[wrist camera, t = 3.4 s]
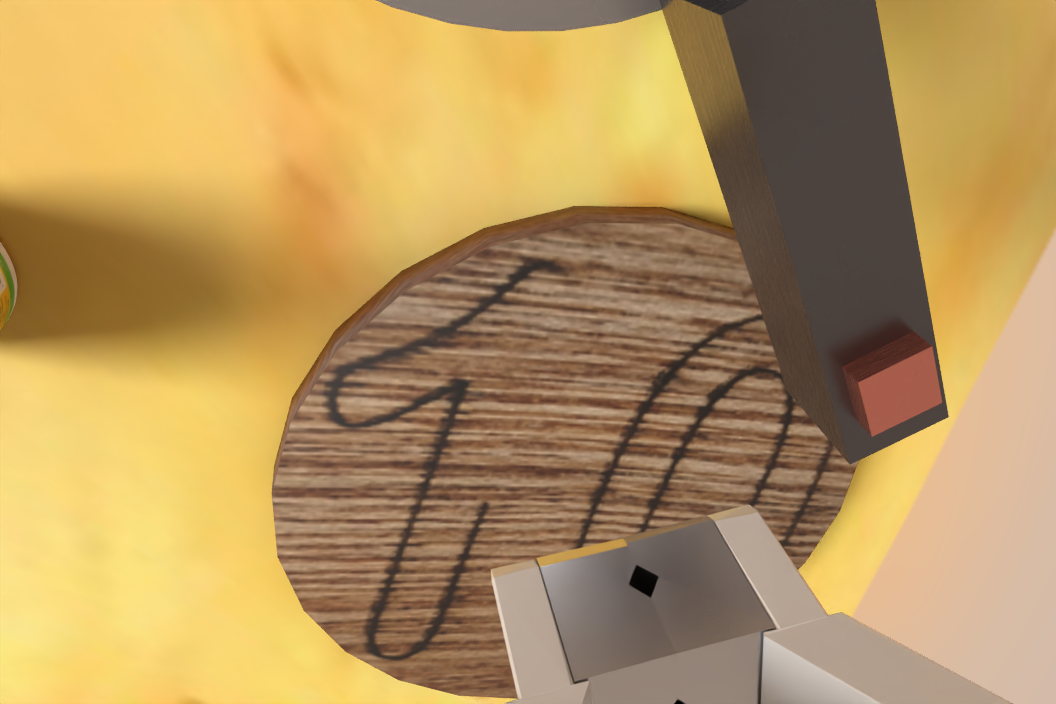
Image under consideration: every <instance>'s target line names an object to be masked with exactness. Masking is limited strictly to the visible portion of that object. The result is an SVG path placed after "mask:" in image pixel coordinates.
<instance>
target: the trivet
mask: <svg viewBox="0 0 1056 704" xmlns="http://www.w3.org/2000/svg"><path fill="white" fill-rule="evenodd" d="M857 464H858V461H857V462H855V463H852V464H849V463H848V462H847V461H846V459H845V458H844V457H843V456H842V455H841V454H840V452H839V451H838V450H837V449H836V448H835V447H834V445H833V444H832V443H831V442H830V441H829V440H828V438H827V437H826V436H825V435H824V434H823V432H822V431H821V430H820V429H819V428H818V427H817V425H816V424H815V423H814V422H813V421H812V420H811V418H810V417H809V416H808V415H807V414H806V413H805V411H804V410H803V409H802V408H801V407H800V405H799V404H798V403H797V402H796V401H795V400H794V398H793V397H792V396H791V395H790V394H789V393H788V391H787V389H786V386H785V383H784V380H783V377H782V374H781V371H780V368H779V365H778V362H777V359H776V356H775V353H774V350H773V346H772V343H771V340H770V337H769V334H768V331H767V328H766V325H765V322H764V319H763V316H762V313H761V310H760V307H759V304H758V301H757V298H756V295H755V291H754V288H753V285H752V282H751V279H750V276H749V273H748V270H747V267H746V264H745V261H744V258H743V255H742V252H741V249H740V246H739V243H738V239H737V236H736V233H735V230H734V229H733V228H729V227H726V226H722V225H719V224H716V223H712V222H709V221H706V220H702V219H699V218H696V217H692V216H689V215H686V214H682V213H679V212H676V211H672V210H669V209H665V208H662V207H593V206H573V207H569V208H565V209H561V210H557V211H553V212H549V213H545V214H540V215H536V216H532V217H528V218H524V219H520V220H516V221H512V222H508V223H503V224H499V225H495V226H491V227H487V228H483V229H482V230H480V231H478V232H476V233H474V234H472V235H470V236H468V237H466V238H464V239H462V240H460V241H459V242H457V243H455V244H453V245H451V246H449V247H447V248H445V249H443V250H441V251H439V252H437V253H436V254H434V255H432V256H430V257H428V258H426V259H424V260H422V261H420V262H418V263H416V264H414V265H413V266H411V267H409V268H407V269H405V270H403V271H401V272H400V273H399V274H398V275H397V276H395V277H394V278H393V279H392V280H391V281H390V282H389V283H388V284H387V285H385V286H384V287H383V288H382V289H381V290H380V291H379V292H378V293H376V294H375V295H374V296H373V297H372V298H371V299H370V300H369V301H368V302H366V303H365V304H364V305H363V306H362V307H361V308H360V309H359V310H357V311H356V312H355V313H354V314H353V315H352V316H351V317H350V318H349V319H347V320H346V321H345V322H344V323H343V324H342V325H341V326H340V327H339V328H337V329H336V330H335V332H334V333H333V335H332V336H331V338H330V339H329V341H328V343H327V344H326V346H325V347H324V349H323V350H322V352H321V354H320V355H319V357H318V358H317V360H316V361H315V363H314V365H313V366H312V368H311V369H310V371H309V372H308V374H307V375H306V377H305V379H304V380H303V382H302V383H301V385H300V386H299V388H298V390H297V391H296V393H295V394H294V396H293V397H292V401H291V404H290V408H289V412H288V416H287V420H286V423H285V427H284V431H283V435H282V439H281V442H280V446H279V450H278V454H277V458H276V461H275V465H274V474H273V485H272V500H273V511H274V522H275V533H276V544H277V555H278V558H279V560H280V562H281V565H282V567H283V569H284V571H285V573H286V575H287V577H288V579H289V581H290V583H291V585H292V587H293V589H294V591H295V593H296V595H297V597H298V599H299V601H300V603H301V605H302V608H303V610H304V611H305V612H306V613H307V614H308V615H309V616H310V617H311V618H312V619H313V620H314V621H315V622H316V623H317V624H318V625H319V626H320V627H321V628H322V629H323V630H324V631H325V632H326V633H327V634H328V635H329V636H330V637H331V638H332V639H333V640H334V641H335V642H336V643H337V644H338V645H339V646H340V647H341V648H342V649H344V650H345V651H346V652H347V653H349V654H351V655H353V656H355V657H356V658H358V659H360V660H362V661H364V662H366V663H368V664H370V665H371V666H373V667H375V668H377V669H379V670H381V671H383V672H385V673H386V674H388V675H390V676H392V677H394V678H396V679H398V680H400V681H404V682H408V683H412V684H416V685H420V686H424V687H427V688H431V689H435V690H439V691H443V692H447V693H451V694H455V695H458V696H478V697H497V698H517V699H518V696H517V692H516V687H515V683H514V678H513V674H512V669H511V665H510V661H509V656H508V652H507V647H506V643H505V638H504V634H503V629H502V625H501V620H500V616H499V611H498V607H497V602H496V598H495V594H494V589H493V585H492V578H491V569H493V568H498V567H502V566H507V565H511V564H516V563H520V562H524V561H529V560H533V559H535V561H536V558H538V557H543V556H547V555H552V554H556V553H561V552H565V551H569V550H574V549H578V548H583V547H587V546H592V545H596V544H600V543H605V542H609V541H614V540H618V539H621V538H622V537H626V536H630V535H634V534H637V533H641V532H645V531H649V530H653V529H656V528H660V527H664V526H668V525H672V524H675V523H679V522H683V521H687V520H691V519H694V518H698V517H702V516H703V517H706V516H707V515H711V514H714V513H718V512H722V511H726V510H730V509H734V508H738V507H741V506H745V505H751V506H752V507H754V508H755V509H757V510H758V512H759V513H760V515H761V516H762V518H763V519H764V521H765V522H766V524H767V525H768V527H769V528H770V530H771V531H772V533H773V534H774V535H775V537H776V538H777V540H778V541H779V543H780V544H781V546H782V547H783V549H784V550H785V552H786V553H787V555H788V556H789V558H790V559H791V561H792V562H793V564H794V565H795V567H796V568H797V570H798V569H799V568H800V567H801V566H802V565H803V564H804V563H805V562H806V560H807V559H808V557H809V556H810V555H811V553H812V552H813V550H814V549H815V547H816V546H817V544H818V543H819V541H820V540H821V538H822V537H823V535H824V534H825V532H826V531H827V529H828V528H829V526H830V525H831V523H832V522H833V520H834V519H835V517H836V516H837V514H838V513H839V511H840V509H841V506H842V504H843V501H844V498H845V496H846V493H847V490H848V488H849V485H850V482H851V480H852V477H853V474H854V472H855V469H856V466H857Z"/></svg>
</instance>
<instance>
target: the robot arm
mask: <svg viewBox="0 0 1056 704" xmlns="http://www.w3.org/2000/svg"><path fill="white" fill-rule="evenodd" d="M491 578H492V585H493V589H494V594H495V598H496V602H497V607H498V611H499V616H500V620H501V625H502V629H503V634H504V638H505V643H506V647H507V652H508V656H509V661H510V665H511V669H512V674H513V678H514V683H515V687H516V692H517V696H518V699H517V700H513V701H510V702H507V703H504V704H1013V703H1011V702H1009V701H1007V700H1005V699H1003V698H1002V697H1000V696H998V695H996V694H994V693H992V692H990V691H988V690H987V689H985V688H983V687H981V686H979V685H977V684H975V683H973V682H971V681H969V680H968V679H966V678H964V677H962V676H960V675H958V674H957V673H955V672H953V671H951V670H949V669H947V668H945V667H943V666H941V665H940V664H938V663H936V662H934V661H932V660H930V659H928V658H927V657H925V656H923V655H921V654H919V653H917V652H915V651H913V650H912V649H910V648H908V647H906V646H904V645H902V644H900V643H898V642H897V641H895V640H893V639H891V638H889V637H887V636H885V635H883V634H882V633H880V632H878V631H876V630H874V629H872V628H870V627H868V626H867V625H865V624H863V623H861V622H859V621H857V620H855V619H853V618H852V617H850V616H848V615H846V614H844V613H842V612H841V613H836V614H832V615H828V614H827V613H826V611H825V610H824V608H823V607H822V605H821V604H820V602H819V601H818V599H817V598H816V596H815V595H814V593H813V592H812V591H811V589H810V588H809V586H808V585H807V583H806V582H805V580H804V579H803V577H802V576H801V574H800V573H799V571H798V570H797V568H796V567H795V565H794V564H793V562H792V561H791V559H790V558H789V556H788V555H787V553H786V552H785V550H784V549H783V547H782V546H781V544H780V543H779V541H778V540H777V538H776V537H775V535H774V534H773V533H772V531H771V530H770V528H769V527H768V525H767V524H766V522H765V521H764V519H763V518H762V516H761V515H760V513H759V512H758V510H757V509H755V508H754V507H752V506H751V505H745V506H741V507H738V508H734V509H730V510H726V511H722V512H718V513H714V514H711V515H707V516H706V517H703V516H702V517H698V518H694V519H691V520H687V521H683V522H679V523H675V524H672V525H668V526H664V527H660V528H656V529H653V530H649V531H645V532H641V533H637V534H634V535H630V536H626V537H622V538H621V539H618V540H614V541H609V542H605V543H600V544H596V545H592V546H587V547H583V548H578V549H574V550H569V551H565V552H561V553H556V554H552V555H547V556H543V557H538V558H536V561H535V559H533V560H529V561H524V562H520V563H516V564H511V565H507V566H502V567H498V568H493V569H491Z"/></svg>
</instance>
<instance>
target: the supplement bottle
mask: <svg viewBox="0 0 1056 704" xmlns="http://www.w3.org/2000/svg"><path fill="white" fill-rule="evenodd" d="M17 291H18V289H17V277H16V273H15V269H14V266H13V264H12V261H11V259H10V257H9V255H8V253H7V252H6V250H5V248H4V247H3V245H2V244H1V242H0V332H1V330H2V329H3V327H4V325H5V324H6V322H7V321H8V319H9V317H10V315H11V313H12V311H13V309H14V306H15V304H16V298H17Z"/></svg>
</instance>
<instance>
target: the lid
mask: <svg viewBox="0 0 1056 704" xmlns="http://www.w3.org/2000/svg"><path fill="white" fill-rule="evenodd" d="M377 1H379V2H381V3H384V4H386V5H388V6H391V7H394V8H397V9H401V10H404V11H408V12H411V13H415V14H419V15H422V16H426V17H429V18H433V19H436V20H440V21H443V22H447V23H451V24H458V25H466V26H473V27H480V28H488V29H495V30H502V31H565V30H572V29H578V28H585V27H592V26H598V25H605V24H612V23H618V22H621V21H625V20H628V19H632V18H635V17H638V16H642V15H645V14H648V13H652V12H655V11H659V10H663V13H664V16H665V19H666V22H667V25H668V28H669V32H670V35H671V38H672V41H673V44H674V47H675V50H676V53H677V56H678V59H679V62H680V65H681V68H682V71H683V74H684V77H685V80H686V84H687V87H688V90H689V93H690V96H691V99H692V102H693V105H694V108H695V111H696V114H697V117H698V120H699V123H700V126H701V129H702V132H703V135H704V139H705V142H706V145H707V148H708V151H709V154H710V157H711V160H712V163H713V166H714V169H715V172H716V175H717V178H718V181H719V184H720V187H721V191H722V194H723V197H724V200H725V203H726V206H727V209H728V212H729V215H730V218H731V221H732V224H733V227H734V230H735V233H736V236H737V239H738V243H739V246H740V249H741V252H742V255H743V258H744V261H745V264H746V267H747V270H748V273H749V276H750V279H751V282H752V285H753V288H754V291H755V295H756V298H757V301H758V304H759V307H760V310H761V313H762V316H763V319H764V322H765V325H766V328H767V331H768V334H769V337H770V340H771V343H772V346H773V350H774V353H775V356H776V359H777V362H778V365H779V368H780V371H781V374H782V377H783V380H784V383H785V386H786V389H787V391H788V393H789V394H790V395H791V396H792V397H793V398H794V400H795V401H796V402H797V403H798V404H799V405H800V407H801V408H802V409H803V410H804V411H805V413H806V414H807V415H808V416H809V417H810V418H811V420H812V421H813V422H814V423H815V424H816V425H817V427H818V428H819V429H820V430H821V431H822V432H823V434H824V435H825V436H826V437H827V438H828V440H829V441H830V442H831V443H832V444H833V445H834V447H835V448H836V449H837V450H838V451H839V452H840V454H841V455H842V456H843V457H844V458H845V459H846V461H847V462H848V463H849V464H852V463H855V462H857V461H859V460H861V459H863V458H865V457H867V456H869V455H871V454H873V453H875V452H877V451H879V450H881V449H883V448H886V447H888V446H890V445H892V444H894V443H896V442H898V441H900V440H902V439H904V438H906V437H908V436H910V435H912V434H914V433H917V432H919V431H921V430H923V429H925V428H927V427H929V426H931V425H933V424H935V423H937V422H939V421H941V420H943V419H946V418H948V417H949V416H948V411H947V405H946V399H945V394H944V388H943V382H942V377H941V371H940V365H939V360H938V354H937V348H936V342H935V337H934V331H933V325H932V320H931V314H930V308H929V303H928V297H927V291H926V286H925V280H924V274H923V269H922V263H921V257H920V252H919V246H918V240H917V234H916V229H915V223H914V217H913V212H912V206H911V200H910V195H909V189H908V183H907V178H906V172H905V166H904V161H903V155H902V149H901V144H900V138H899V132H898V126H897V121H896V115H895V109H894V104H893V98H892V92H891V87H890V81H889V75H888V70H887V64H886V58H885V53H884V47H883V41H882V36H881V30H880V24H879V19H878V13H877V7H876V1H875V0H377Z"/></svg>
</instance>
